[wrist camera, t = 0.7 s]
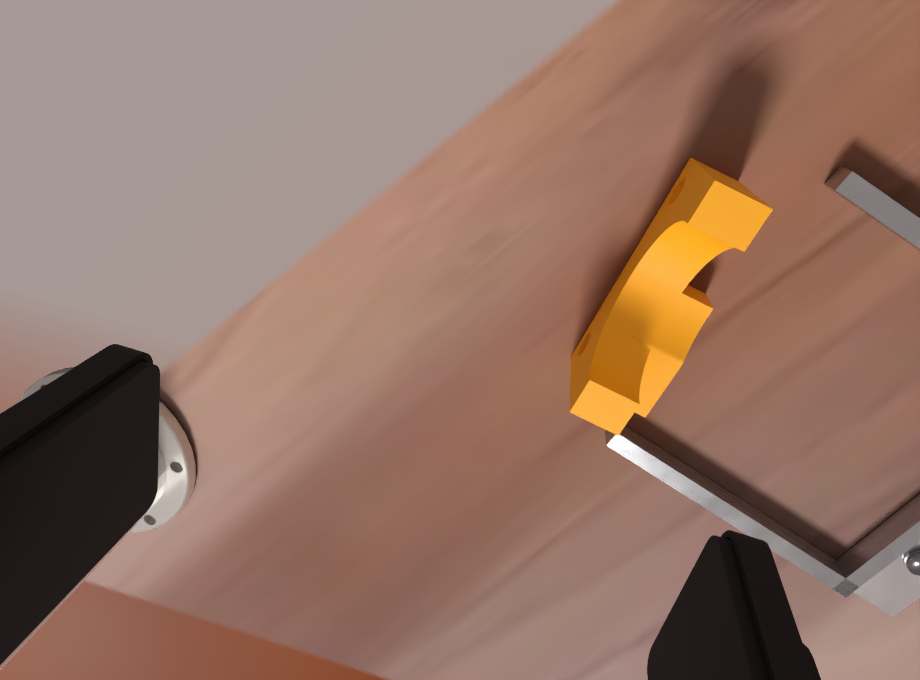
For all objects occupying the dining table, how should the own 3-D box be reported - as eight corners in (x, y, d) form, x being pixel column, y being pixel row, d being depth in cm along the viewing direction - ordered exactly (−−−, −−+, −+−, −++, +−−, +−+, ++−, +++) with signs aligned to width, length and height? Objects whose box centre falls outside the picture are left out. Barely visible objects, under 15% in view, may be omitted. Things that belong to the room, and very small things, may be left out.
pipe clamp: (640, 388, 37) (651, 452, 31) (571, 355, 37) (569, 411, 31) (769, 196, 32) (812, 228, 26) (689, 157, 32) (714, 180, 26)
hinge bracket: (889, 611, 40) (900, 631, 38) (605, 431, 38) (606, 445, 37) (1177, 402, 32) (1204, 418, 31) (840, 165, 31) (852, 170, 29)
